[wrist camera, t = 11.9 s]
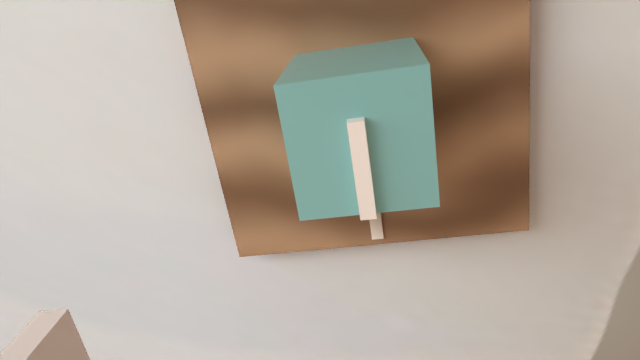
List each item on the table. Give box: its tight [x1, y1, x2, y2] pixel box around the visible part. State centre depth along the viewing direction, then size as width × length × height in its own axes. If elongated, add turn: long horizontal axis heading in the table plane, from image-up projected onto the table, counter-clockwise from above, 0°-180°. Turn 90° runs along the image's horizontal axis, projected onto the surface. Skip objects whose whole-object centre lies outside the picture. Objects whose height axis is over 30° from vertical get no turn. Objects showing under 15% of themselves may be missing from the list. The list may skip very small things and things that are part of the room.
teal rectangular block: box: [273, 37, 440, 221], centre depth 27 cm, size 7×7×9 cm
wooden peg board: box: [174, 0, 530, 257], centre depth 29 cm, size 20×20×7 cm
